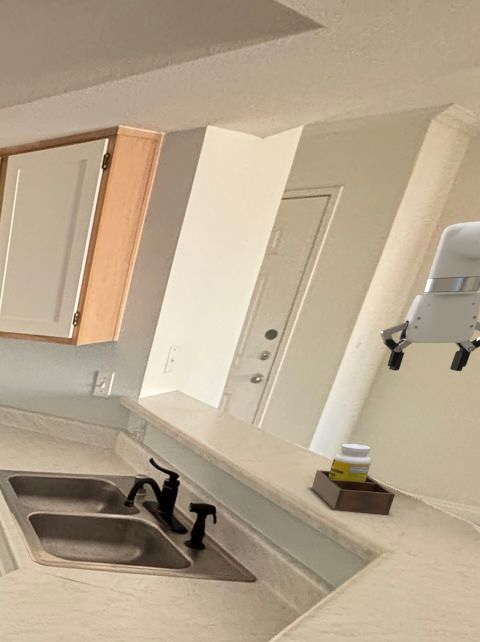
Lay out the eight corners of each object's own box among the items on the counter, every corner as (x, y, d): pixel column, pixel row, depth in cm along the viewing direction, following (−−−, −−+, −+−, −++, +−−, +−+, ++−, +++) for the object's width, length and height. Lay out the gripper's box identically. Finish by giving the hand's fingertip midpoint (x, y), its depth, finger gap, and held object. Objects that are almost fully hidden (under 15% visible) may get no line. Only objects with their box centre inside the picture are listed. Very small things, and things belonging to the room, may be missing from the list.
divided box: (359, 492, 138) (365, 473, 137) (388, 514, 124) (395, 494, 123) (311, 488, 142) (316, 470, 141) (334, 509, 129) (340, 489, 127)
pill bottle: (319, 487, 140) (331, 442, 137) (351, 489, 138) (365, 443, 135) (332, 495, 135) (346, 448, 131) (367, 497, 133) (382, 449, 129)
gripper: (501, 284, 121) (472, 368, 127) (387, 289, 130) (364, 367, 135) (523, 284, 115) (490, 372, 121) (401, 289, 123) (376, 371, 129)
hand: (424, 370), depth 128 cm, fingers open, 9 cm apart
